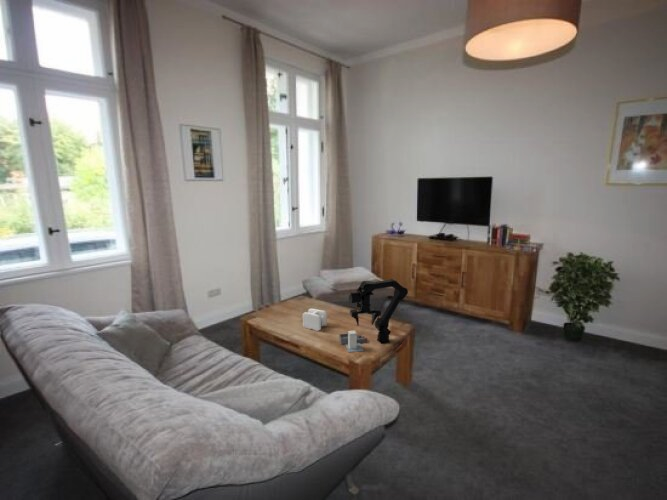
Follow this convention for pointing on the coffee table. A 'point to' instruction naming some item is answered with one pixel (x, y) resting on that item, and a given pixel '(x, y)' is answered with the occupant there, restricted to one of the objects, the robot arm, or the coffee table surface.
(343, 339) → the power strip
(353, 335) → the block
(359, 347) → the rubber pad
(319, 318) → the cable organizer
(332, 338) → the coffee table surface
